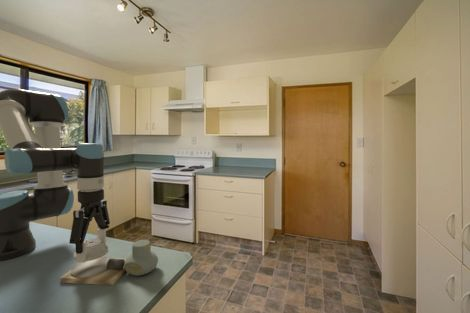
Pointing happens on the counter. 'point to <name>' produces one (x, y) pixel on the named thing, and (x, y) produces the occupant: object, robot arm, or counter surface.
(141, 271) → the grey rounded piece
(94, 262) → the flange board
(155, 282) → the counter surface
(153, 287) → the counter surface
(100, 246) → the mechanical component
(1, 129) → the robot arm
